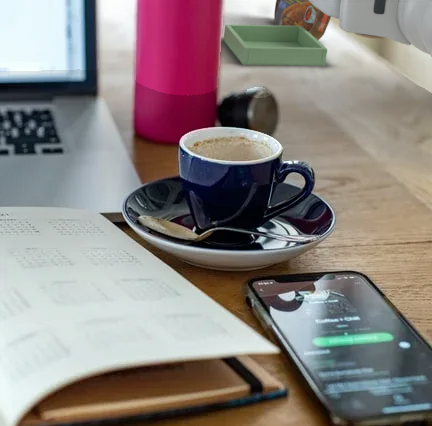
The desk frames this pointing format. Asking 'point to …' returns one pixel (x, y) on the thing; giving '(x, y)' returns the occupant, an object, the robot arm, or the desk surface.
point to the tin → (301, 16)
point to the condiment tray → (274, 45)
